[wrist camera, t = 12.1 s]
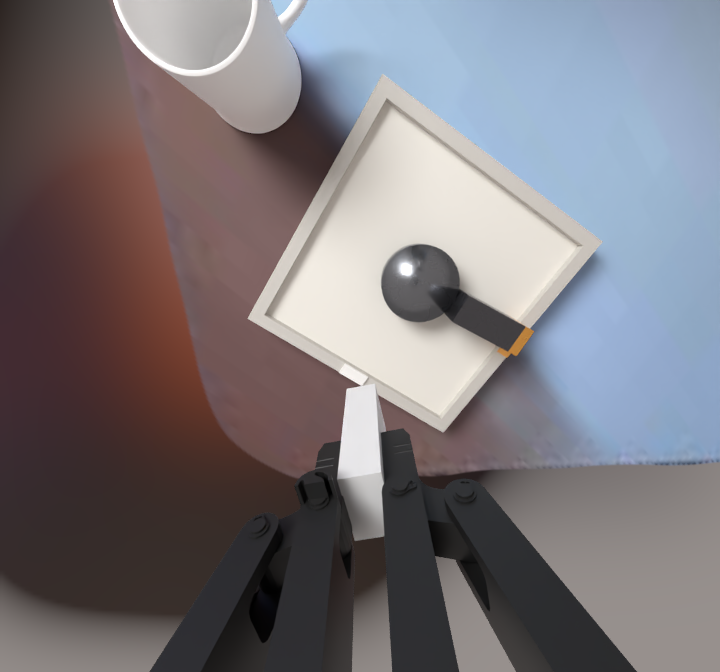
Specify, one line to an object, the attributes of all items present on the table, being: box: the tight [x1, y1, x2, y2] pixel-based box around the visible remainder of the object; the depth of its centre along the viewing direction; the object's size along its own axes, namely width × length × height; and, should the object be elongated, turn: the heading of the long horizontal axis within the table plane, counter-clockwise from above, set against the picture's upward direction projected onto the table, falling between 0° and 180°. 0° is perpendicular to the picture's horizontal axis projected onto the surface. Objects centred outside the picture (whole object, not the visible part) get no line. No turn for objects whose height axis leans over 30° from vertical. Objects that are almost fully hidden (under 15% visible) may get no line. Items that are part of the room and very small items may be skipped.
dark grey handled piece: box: [381, 244, 534, 356], centre depth 31 cm, size 14×7×4 cm, turn 62°
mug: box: [113, 0, 308, 134], centre depth 24 cm, size 12×8×12 cm
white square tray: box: [248, 74, 602, 432], centre depth 33 cm, size 24×24×3 cm
